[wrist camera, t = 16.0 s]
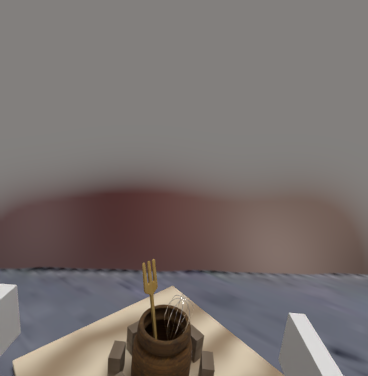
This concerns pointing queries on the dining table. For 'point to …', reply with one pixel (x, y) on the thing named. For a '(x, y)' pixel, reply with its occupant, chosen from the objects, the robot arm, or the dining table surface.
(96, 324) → the ring collar board
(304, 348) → the robot arm
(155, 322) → the utensil holder
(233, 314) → the dining table surface
